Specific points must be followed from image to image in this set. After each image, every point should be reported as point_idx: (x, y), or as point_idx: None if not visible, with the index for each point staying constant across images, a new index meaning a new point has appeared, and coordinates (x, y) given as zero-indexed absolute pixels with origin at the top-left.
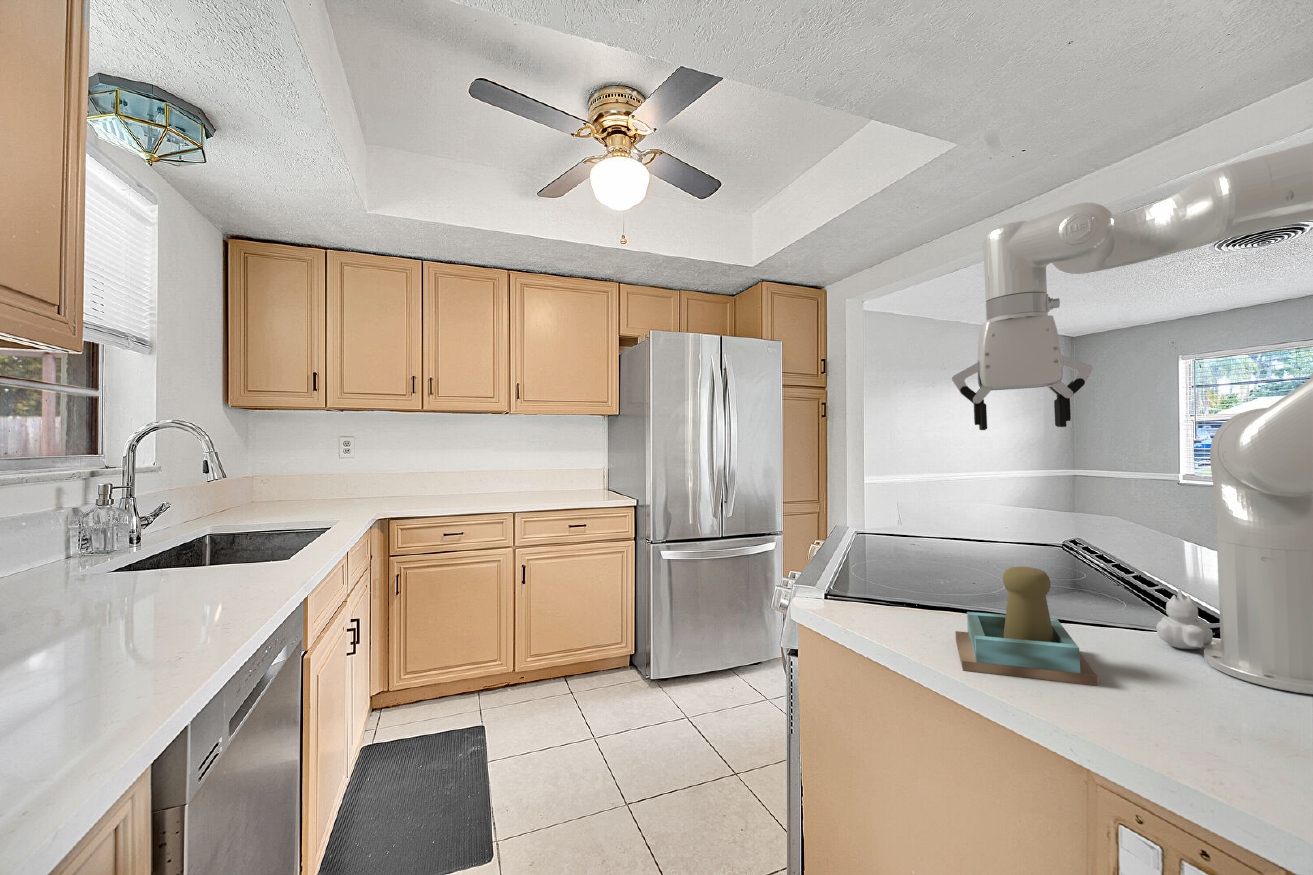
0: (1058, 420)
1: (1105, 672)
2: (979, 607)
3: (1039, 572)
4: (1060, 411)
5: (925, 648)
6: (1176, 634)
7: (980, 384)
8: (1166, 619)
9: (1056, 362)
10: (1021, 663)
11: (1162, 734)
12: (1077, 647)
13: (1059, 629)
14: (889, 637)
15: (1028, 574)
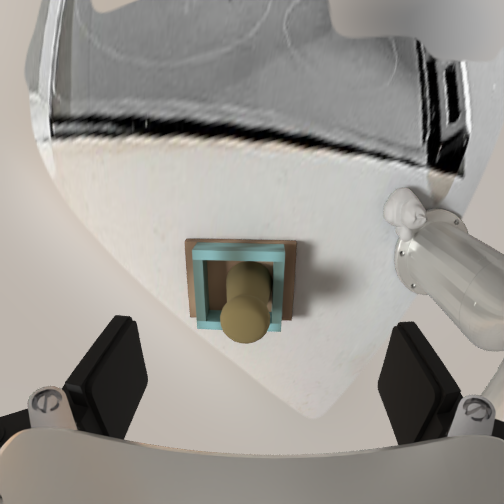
0: (387, 383)
1: (307, 287)
2: (222, 108)
3: (257, 336)
4: (394, 422)
5: (160, 271)
6: (393, 225)
7: (8, 443)
8: (397, 209)
9: None
10: None
11: (303, 370)
12: (280, 329)
13: (278, 287)
14: (126, 250)
15: (244, 342)
